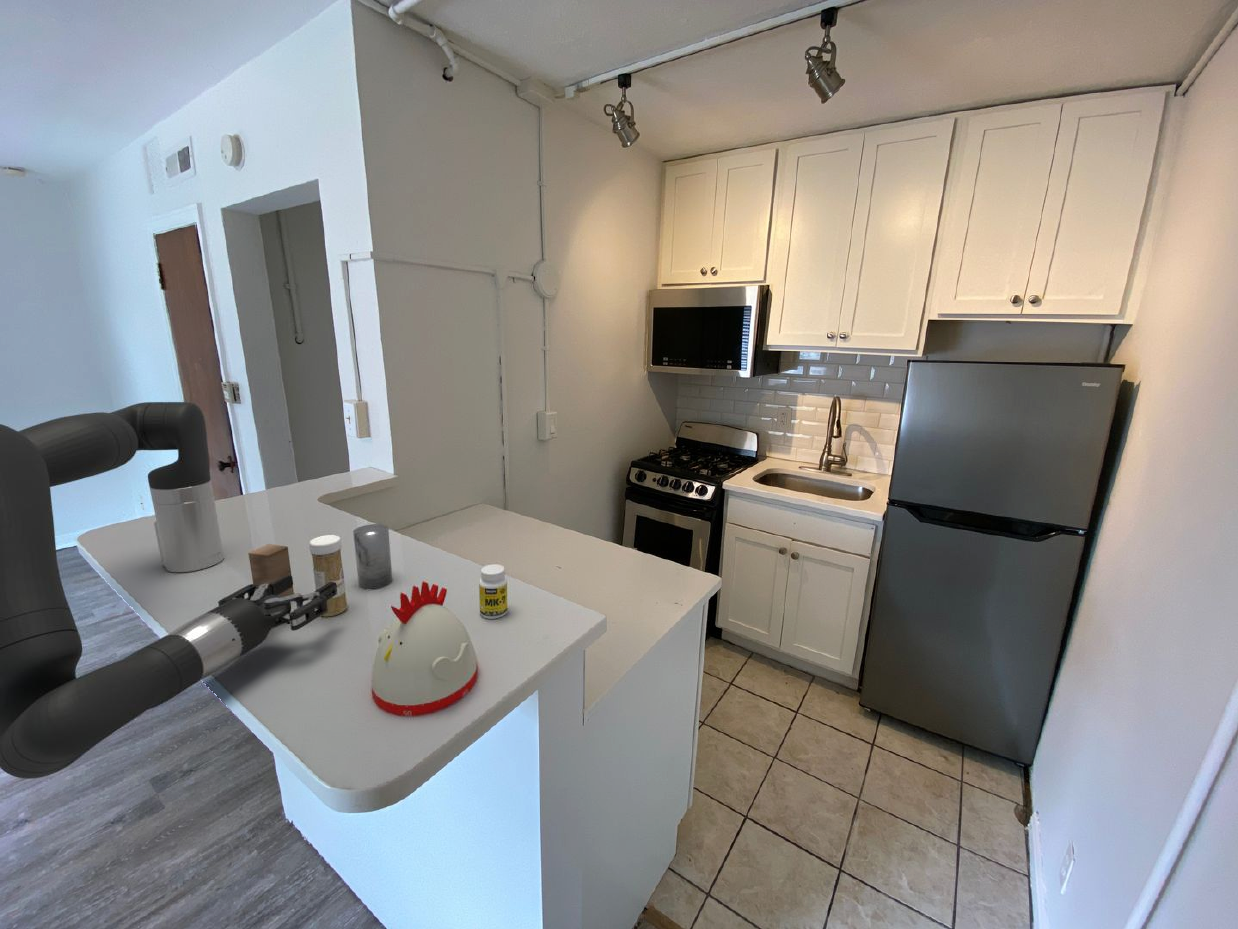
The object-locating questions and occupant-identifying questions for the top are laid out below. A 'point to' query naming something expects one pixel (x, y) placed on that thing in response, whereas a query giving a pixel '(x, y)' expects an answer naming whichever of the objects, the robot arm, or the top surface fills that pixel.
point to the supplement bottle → (493, 592)
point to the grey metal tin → (373, 556)
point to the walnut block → (270, 565)
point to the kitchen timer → (423, 657)
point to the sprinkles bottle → (329, 570)
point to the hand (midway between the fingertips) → (312, 583)
